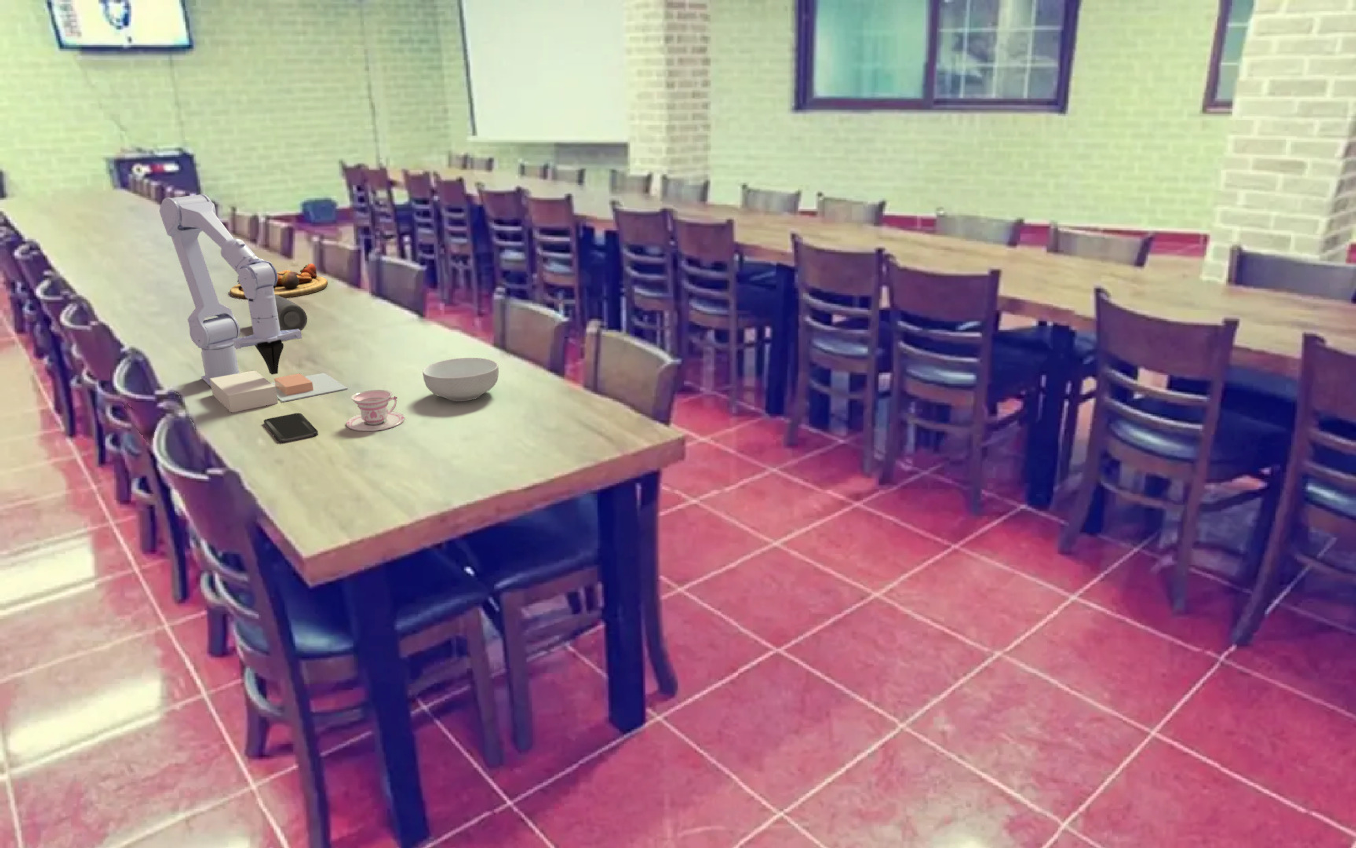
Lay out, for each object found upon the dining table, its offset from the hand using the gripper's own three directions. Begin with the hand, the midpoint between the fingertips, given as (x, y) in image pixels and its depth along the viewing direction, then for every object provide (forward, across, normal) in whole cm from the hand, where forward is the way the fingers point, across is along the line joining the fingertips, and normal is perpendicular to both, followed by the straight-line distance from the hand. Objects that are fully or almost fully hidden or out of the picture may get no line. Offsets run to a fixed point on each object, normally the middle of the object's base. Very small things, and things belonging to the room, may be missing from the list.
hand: (273, 373), depth 217 cm
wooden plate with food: (+6, +36, +119) cm, 125 cm away
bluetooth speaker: (+5, +19, +60) cm, 63 cm away
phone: (+5, -5, -27) cm, 28 cm away
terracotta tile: (+2, +4, 0) cm, 5 cm away
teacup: (+5, +10, -34) cm, 36 cm away
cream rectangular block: (+5, -7, 0) cm, 9 cm away
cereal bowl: (+5, +33, -30) cm, 45 cm away
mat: (+5, +6, 0) cm, 8 cm away
